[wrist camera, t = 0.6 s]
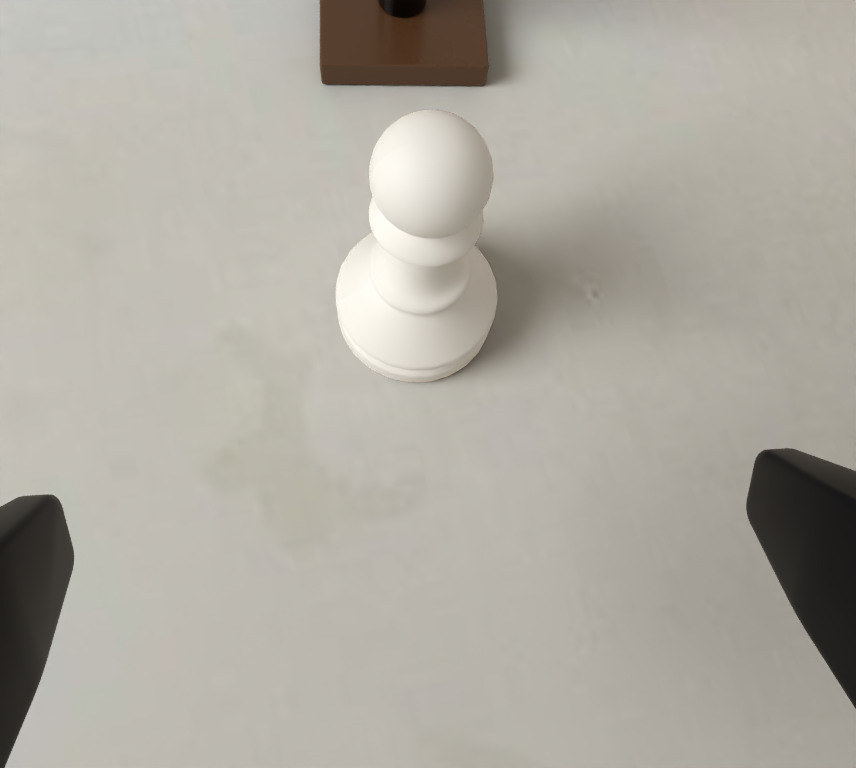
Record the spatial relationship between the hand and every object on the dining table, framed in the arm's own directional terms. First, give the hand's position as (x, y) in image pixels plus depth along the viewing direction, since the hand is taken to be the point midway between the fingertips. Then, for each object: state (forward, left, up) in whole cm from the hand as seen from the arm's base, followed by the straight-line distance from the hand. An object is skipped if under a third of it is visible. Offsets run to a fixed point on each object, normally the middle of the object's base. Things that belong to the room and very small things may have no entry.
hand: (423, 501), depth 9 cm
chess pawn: (+6, -6, -13) cm, 15 cm away
